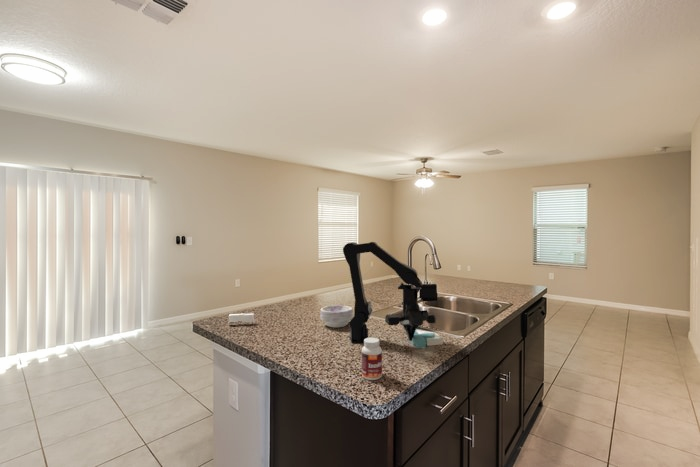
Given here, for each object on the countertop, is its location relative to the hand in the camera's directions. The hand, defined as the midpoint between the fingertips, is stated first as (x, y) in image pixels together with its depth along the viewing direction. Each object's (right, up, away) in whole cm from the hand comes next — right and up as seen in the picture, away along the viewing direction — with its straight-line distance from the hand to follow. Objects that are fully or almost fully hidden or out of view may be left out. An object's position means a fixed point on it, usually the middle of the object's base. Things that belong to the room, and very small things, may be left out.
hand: (410, 340), depth 124 cm
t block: (+5, -1, +1) cm, 5 cm away
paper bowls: (-30, -2, +26) cm, 40 cm away
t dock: (+8, -1, +1) cm, 9 cm away
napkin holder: (-75, -3, +29) cm, 81 cm away
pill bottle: (-17, -2, -27) cm, 32 cm away
